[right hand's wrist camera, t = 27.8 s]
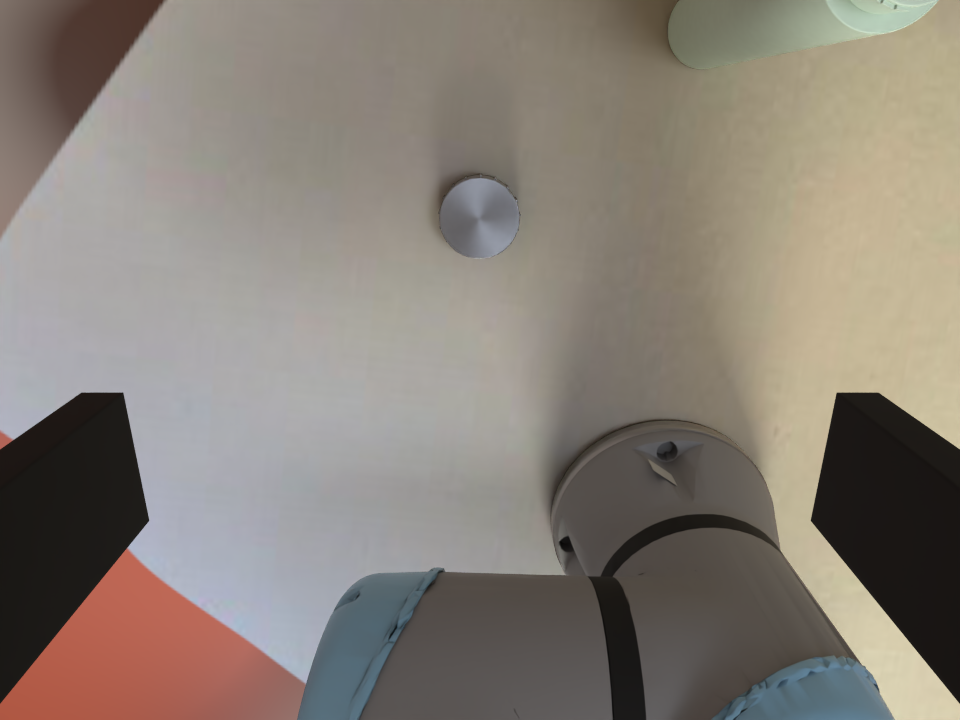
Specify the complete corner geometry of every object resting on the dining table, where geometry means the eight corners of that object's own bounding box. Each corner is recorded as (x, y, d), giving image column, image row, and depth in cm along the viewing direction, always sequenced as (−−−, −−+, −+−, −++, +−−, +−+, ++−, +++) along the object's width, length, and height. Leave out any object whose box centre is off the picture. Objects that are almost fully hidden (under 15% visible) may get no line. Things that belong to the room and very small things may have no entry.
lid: (470, 268, 42) (469, 275, 40) (424, 204, 40) (421, 209, 38) (533, 224, 41) (536, 229, 39) (488, 157, 39) (489, 159, 37)
